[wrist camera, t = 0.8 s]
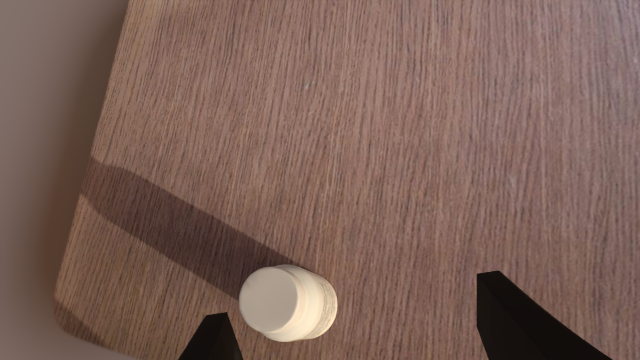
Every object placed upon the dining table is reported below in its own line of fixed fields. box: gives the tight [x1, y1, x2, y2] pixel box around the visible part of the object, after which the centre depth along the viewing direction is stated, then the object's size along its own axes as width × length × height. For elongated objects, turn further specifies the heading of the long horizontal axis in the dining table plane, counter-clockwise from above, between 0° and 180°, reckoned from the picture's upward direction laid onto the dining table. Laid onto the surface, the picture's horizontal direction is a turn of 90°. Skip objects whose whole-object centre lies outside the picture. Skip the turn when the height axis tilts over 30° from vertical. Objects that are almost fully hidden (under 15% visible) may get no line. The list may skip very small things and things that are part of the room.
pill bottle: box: [239, 264, 337, 342], centre depth 28 cm, size 4×4×8 cm
